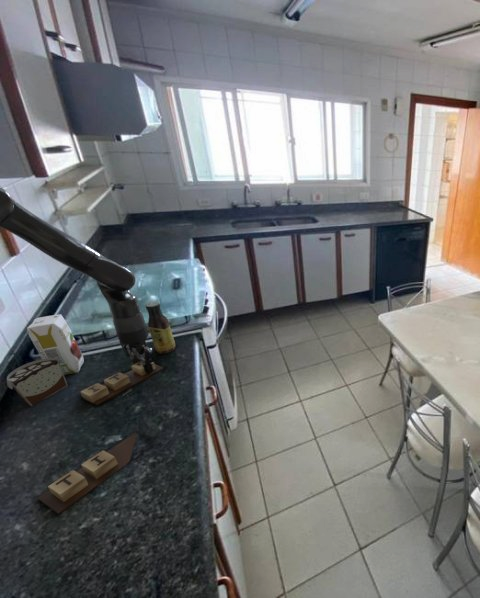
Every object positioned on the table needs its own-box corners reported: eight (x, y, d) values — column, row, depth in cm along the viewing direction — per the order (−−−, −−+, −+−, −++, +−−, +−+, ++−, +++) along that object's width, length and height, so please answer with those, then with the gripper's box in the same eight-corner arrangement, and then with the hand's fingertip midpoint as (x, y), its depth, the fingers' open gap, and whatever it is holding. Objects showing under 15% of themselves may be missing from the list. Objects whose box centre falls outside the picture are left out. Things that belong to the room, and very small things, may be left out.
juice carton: (50, 380, 105) (21, 329, 97) (58, 365, 112) (32, 317, 103) (80, 373, 108) (55, 324, 100) (87, 359, 115) (64, 312, 107)
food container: (57, 379, 105) (43, 354, 101) (73, 382, 104) (59, 356, 100) (9, 407, 94) (-9, 379, 90) (26, 410, 93) (8, 383, 89)
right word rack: (96, 406, 97) (93, 397, 95) (80, 398, 99) (76, 389, 98) (164, 369, 114) (162, 361, 112) (149, 363, 116) (146, 355, 115)
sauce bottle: (153, 352, 122) (135, 305, 114) (169, 344, 127) (153, 298, 119) (165, 357, 120) (148, 309, 111) (181, 348, 125) (166, 301, 117)
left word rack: (59, 515, 69) (54, 505, 68) (38, 500, 72) (32, 489, 70) (155, 445, 86) (152, 435, 85) (135, 434, 89) (132, 425, 87)
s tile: (142, 375, 109) (140, 369, 108) (133, 371, 110) (131, 365, 109) (155, 368, 113) (154, 362, 111) (146, 364, 114) (145, 358, 113)
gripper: (102, 325, 103) (118, 369, 110) (132, 337, 99) (147, 382, 106) (128, 316, 110) (141, 358, 117) (157, 326, 105) (169, 369, 112)
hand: (144, 369), depth 111 cm, fingers closed on s tile, 4 cm apart
